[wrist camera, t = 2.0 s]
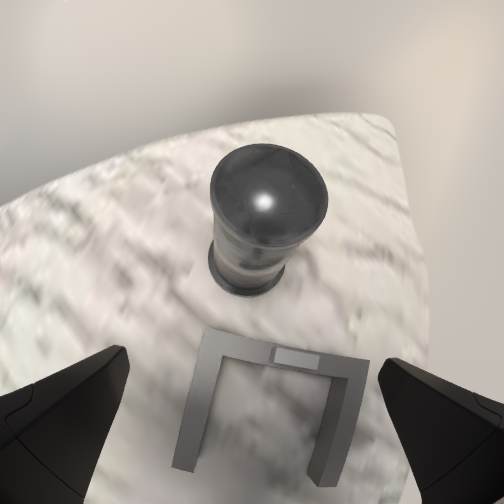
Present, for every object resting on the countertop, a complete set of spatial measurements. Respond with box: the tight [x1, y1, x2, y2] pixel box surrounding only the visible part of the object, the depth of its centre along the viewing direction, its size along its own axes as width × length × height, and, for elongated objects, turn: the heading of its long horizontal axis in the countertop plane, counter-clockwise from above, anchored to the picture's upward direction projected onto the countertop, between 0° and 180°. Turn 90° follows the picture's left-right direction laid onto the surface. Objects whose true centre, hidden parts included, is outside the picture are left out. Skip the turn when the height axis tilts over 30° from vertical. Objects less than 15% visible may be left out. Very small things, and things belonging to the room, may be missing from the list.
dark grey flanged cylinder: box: [208, 144, 328, 297], centre depth 19 cm, size 6×6×11 cm
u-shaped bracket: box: [172, 327, 370, 487], centre depth 17 cm, size 11×13×4 cm
